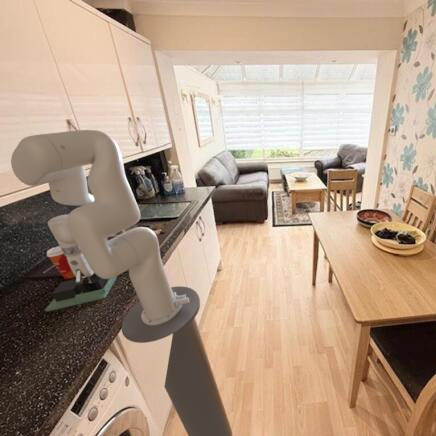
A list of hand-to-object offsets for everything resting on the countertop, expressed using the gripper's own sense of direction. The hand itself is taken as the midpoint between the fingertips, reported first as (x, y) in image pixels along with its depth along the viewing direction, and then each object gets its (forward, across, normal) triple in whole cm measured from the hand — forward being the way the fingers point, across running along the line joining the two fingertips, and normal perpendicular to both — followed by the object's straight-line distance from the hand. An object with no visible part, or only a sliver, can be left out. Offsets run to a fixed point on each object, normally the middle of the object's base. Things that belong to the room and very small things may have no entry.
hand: (95, 284), depth 96 cm
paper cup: (+3, +16, +16) cm, 23 cm away
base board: (+3, 0, +5) cm, 5 cm away
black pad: (+1, 0, 0) cm, 1 cm away
